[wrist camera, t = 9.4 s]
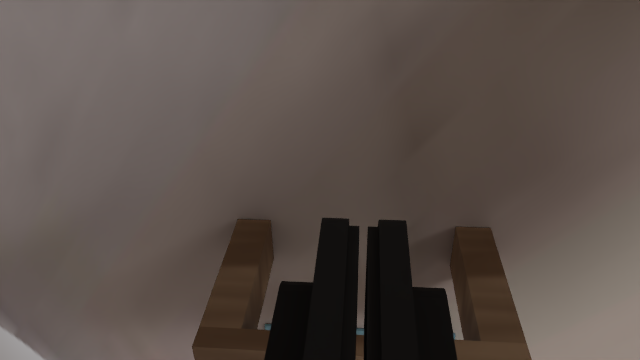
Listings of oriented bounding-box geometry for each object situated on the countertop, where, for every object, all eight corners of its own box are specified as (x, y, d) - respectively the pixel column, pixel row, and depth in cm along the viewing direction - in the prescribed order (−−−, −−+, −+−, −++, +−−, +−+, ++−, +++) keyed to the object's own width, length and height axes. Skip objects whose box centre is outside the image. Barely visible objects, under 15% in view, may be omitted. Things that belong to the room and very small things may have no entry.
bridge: (237, 219, 32) (191, 346, 24) (490, 227, 31) (533, 365, 23) (242, 257, 34) (201, 388, 25) (483, 266, 32) (520, 408, 24)
